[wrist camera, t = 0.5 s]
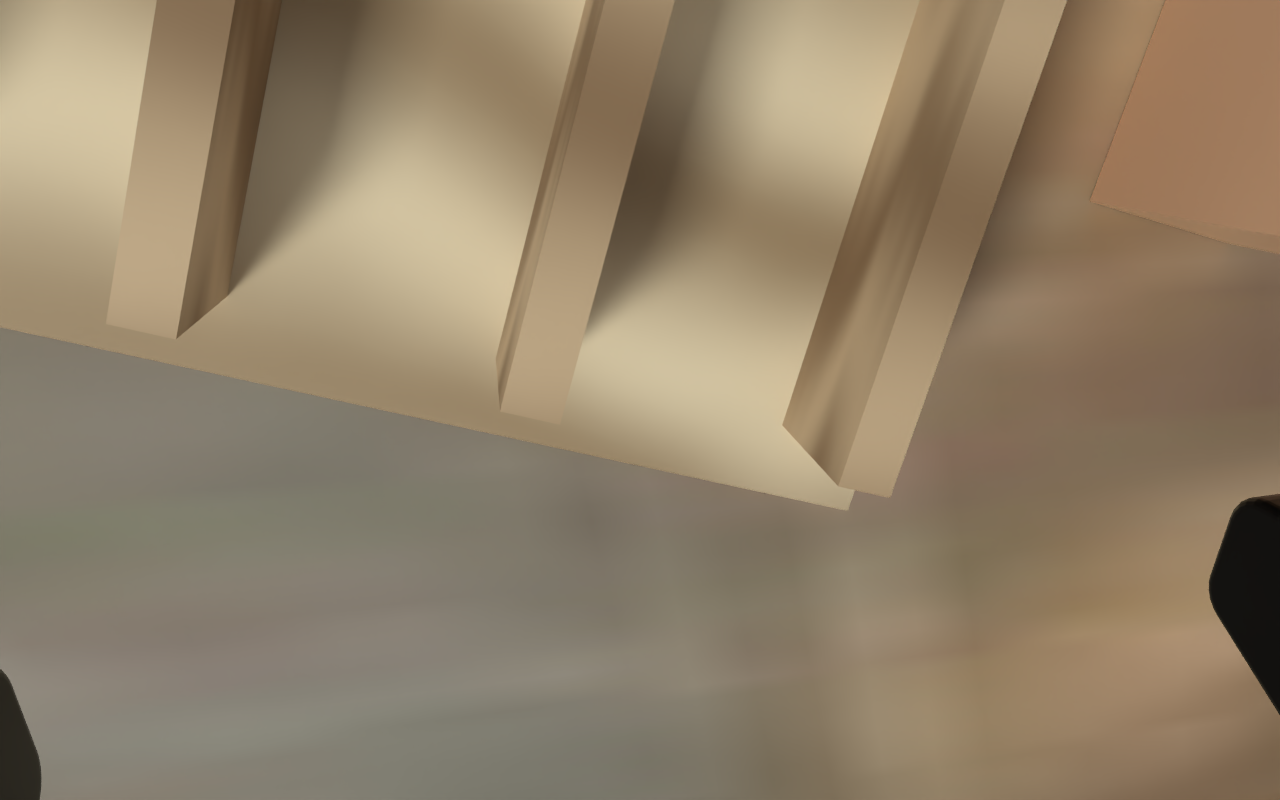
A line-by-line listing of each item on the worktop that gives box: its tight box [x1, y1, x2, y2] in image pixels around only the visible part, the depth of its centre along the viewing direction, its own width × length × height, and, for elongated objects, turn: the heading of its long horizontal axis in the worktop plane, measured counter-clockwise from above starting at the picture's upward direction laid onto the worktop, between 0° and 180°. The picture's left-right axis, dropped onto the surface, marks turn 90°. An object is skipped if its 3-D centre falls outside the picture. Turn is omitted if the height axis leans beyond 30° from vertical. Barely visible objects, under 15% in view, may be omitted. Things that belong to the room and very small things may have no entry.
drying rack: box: [0, 0, 1067, 511], centre depth 17 cm, size 13×21×4 cm, turn 74°
